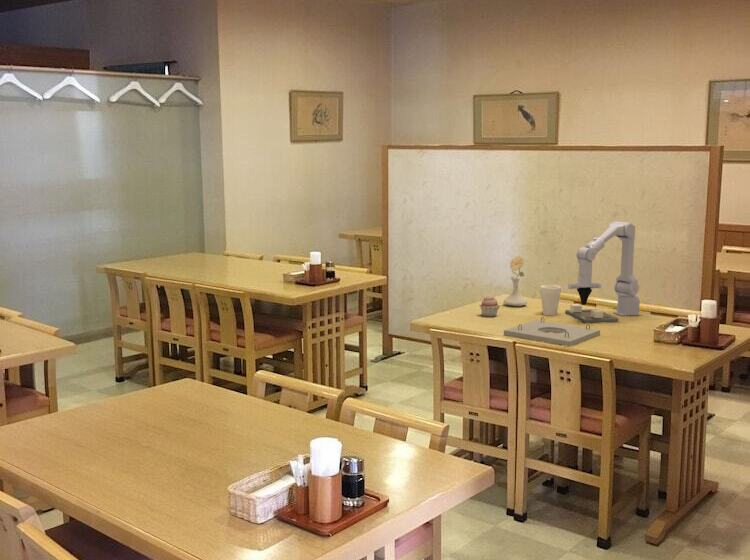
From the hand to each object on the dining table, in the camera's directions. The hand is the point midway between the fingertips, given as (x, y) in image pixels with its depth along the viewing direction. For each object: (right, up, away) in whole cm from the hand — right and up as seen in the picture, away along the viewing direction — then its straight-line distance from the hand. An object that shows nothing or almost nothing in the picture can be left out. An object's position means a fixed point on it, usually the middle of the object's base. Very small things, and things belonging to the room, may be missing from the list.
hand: (583, 304), depth 368 cm
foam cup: (-12, -5, +16) cm, 21 cm away
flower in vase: (-24, -2, +36) cm, 44 cm away
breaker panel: (+6, -6, +9) cm, 13 cm away
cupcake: (-40, -6, +13) cm, 43 cm away
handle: (0, -4, +15) cm, 15 cm away
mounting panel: (-20, -13, -26) cm, 35 cm away
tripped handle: (+6, -6, +2) cm, 9 cm away
